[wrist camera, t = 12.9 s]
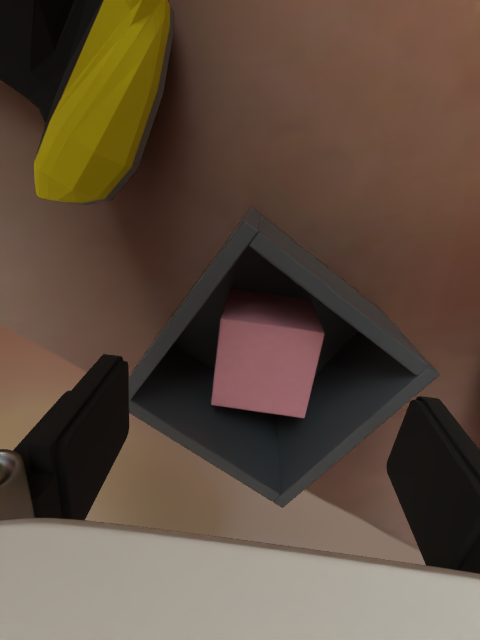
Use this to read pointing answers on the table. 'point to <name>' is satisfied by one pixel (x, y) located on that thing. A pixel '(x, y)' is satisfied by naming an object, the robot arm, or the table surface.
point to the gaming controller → (87, 86)
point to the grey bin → (329, 382)
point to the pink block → (266, 353)
